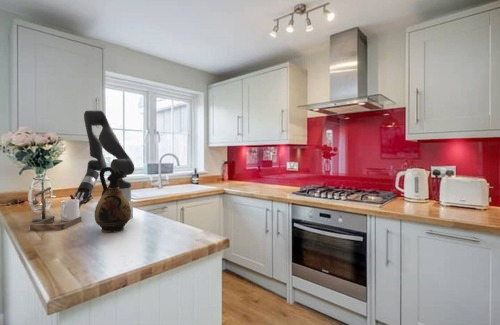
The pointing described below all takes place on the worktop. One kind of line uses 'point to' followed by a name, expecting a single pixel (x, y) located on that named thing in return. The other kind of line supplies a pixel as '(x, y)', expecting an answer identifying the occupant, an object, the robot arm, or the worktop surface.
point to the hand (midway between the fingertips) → (75, 209)
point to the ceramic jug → (112, 203)
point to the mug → (69, 209)
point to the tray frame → (47, 226)
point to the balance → (36, 203)
